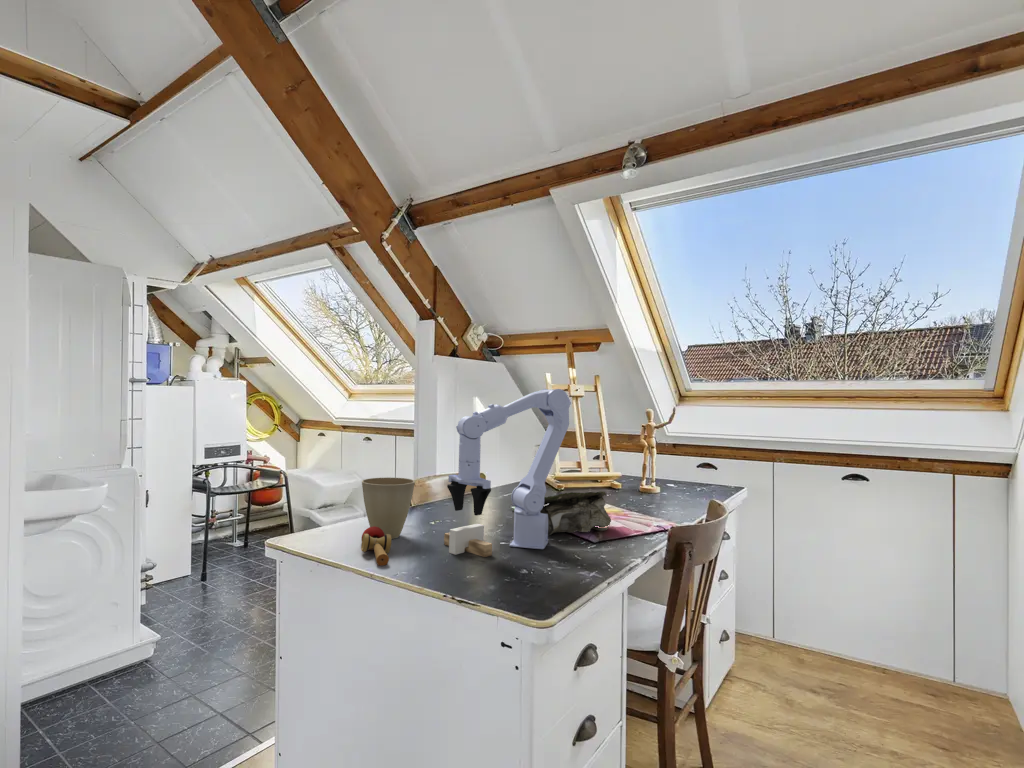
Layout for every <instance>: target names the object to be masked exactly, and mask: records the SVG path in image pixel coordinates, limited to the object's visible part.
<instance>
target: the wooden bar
mask: <svg viewBox="0 0 1024 768" xmlns="http://www.w3.org/2000/svg"><path fill="white" fill-rule="evenodd" d="M449 533H450V531H449V532H445V533H444V536H443V539H444V540H443V545H444V546H447V547H449ZM464 552H467V553H471V554H473V555H477V556H480V557H482V558H486V557H487V558H488V557H491V556H493V543H491V542H487V541H481V540H478V539H473V540H469V547H466V548H465V551H464Z"/></svg>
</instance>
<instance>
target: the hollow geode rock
mask: <svg viewBox="0 0 1024 768" xmlns="http://www.w3.org/2000/svg"><path fill="white" fill-rule="evenodd" d="M604 496H607V492H605V491H602V490H601V491H597V492H593V491H590V492H588V491H586V492H573V491H571V492H564V493H559V494H556V495H553V496H552V495H551V496H546V497H544V506H543V508H542V510H541V511H540V513H543V514H547V515H548V536H551V535H552V534H555V533H565V532H566V533H575V532H581V533H589V532H590V531H591V529H594V530H596V531H600V532H601V531H603V532H604V531H607V530H608V529H609V527H607V528H598V527H595V526H599V527H605V526H608V525H609V526H610V525H611V522H612V519H611V517H610V515H609V514H608V512H607V510H606V509H605V506H606V505H607V503H606V500H605V499H604ZM588 531H589V532H588Z"/></svg>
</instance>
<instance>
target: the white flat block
mask: <svg viewBox="0 0 1024 768" xmlns="http://www.w3.org/2000/svg"><path fill="white" fill-rule="evenodd" d="M449 532H450V533H449ZM449 532H448V533H449V546H448V553H449V554H452V555H454V556H455V555H459V554H463V553H465V552H466V551H465V548H466V547H469V540H473V539H478V540H481V541H484V540H485V539H484V538H485V537H484V536H485V525H484V524H480V523H473V524H470V525H469V524H468V525H464V526H459V527H456V528H455V527H454V528H450V529H449Z"/></svg>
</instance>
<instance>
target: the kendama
mask: <svg viewBox="0 0 1024 768" xmlns="http://www.w3.org/2000/svg"><path fill="white" fill-rule="evenodd" d="M360 545H361V547H360V550H361V552H362V553H363V552H364V553H365V552H367V551H374V556H375V562H376V564H377V566H379V567H383V566H386V565H388V563H389V562H390V557H389V555H388V554H390V551H391V548H392V539H391V535H390V534H386V535H385V534H384V532H383V530H382V529H380V528H379V527H375V526H373V527H370V526H369V527H367V528H366V529H365V530H364V531H363V533H362V535H361V544H360Z"/></svg>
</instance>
